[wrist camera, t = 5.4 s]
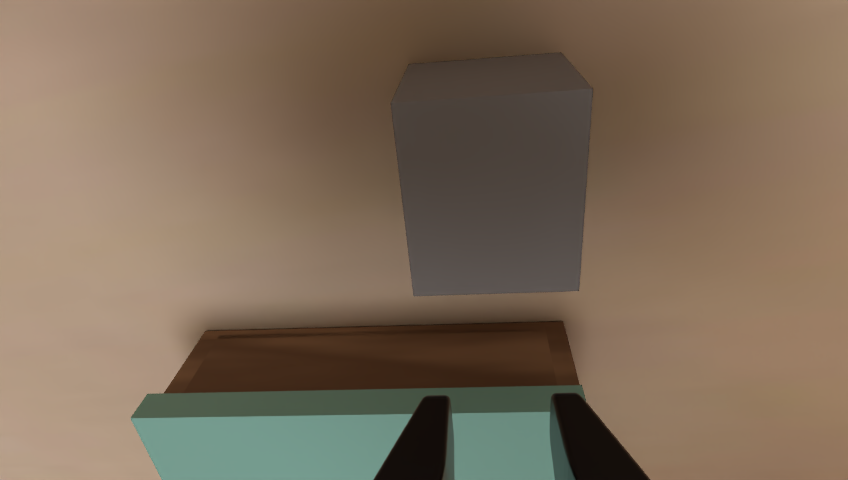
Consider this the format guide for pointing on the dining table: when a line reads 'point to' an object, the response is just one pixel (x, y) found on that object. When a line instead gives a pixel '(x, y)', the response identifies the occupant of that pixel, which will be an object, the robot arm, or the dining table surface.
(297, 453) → the lid
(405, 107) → the block
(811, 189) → the dining table surface
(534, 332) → the storage box
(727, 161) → the dining table surface
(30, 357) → the dining table surface
